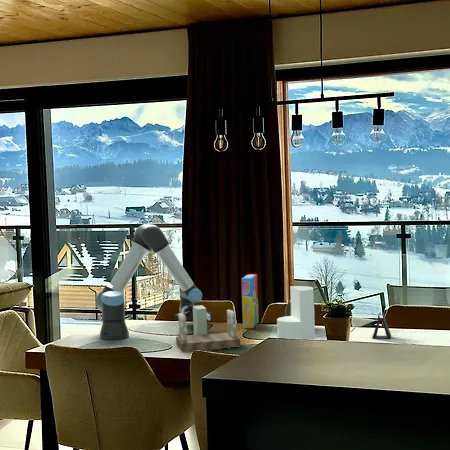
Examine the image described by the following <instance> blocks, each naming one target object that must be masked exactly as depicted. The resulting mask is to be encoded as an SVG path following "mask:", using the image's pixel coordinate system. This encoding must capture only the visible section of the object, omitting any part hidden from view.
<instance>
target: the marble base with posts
mask: <svg viewBox="0 0 450 450" xmlns="http://www.w3.org/2000/svg"><path fill="white" fill-rule="evenodd" d="M177 314H178V316H179V319H178V336H176V337H175V339H176V341H175V343H176V346H177V348H178V349H179V350H180V352H181V353H189V352H195V351H194V350H203V351H214V350H222V349H221V348H227V349H231V348H230V347H237V346H241V338H240V337H238V336H237V321H236V320H237V319H236V312H235V311H233V310H232V309H227V310H226V322H227V325H226V327H227V332H220V333H218V332H217V333H207V334H204V335H194V334H193V335H187V319H186V316H185V315H184V314H183V313H180V312H179V313H177Z"/></svg>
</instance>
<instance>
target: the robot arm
mask: <svg viewBox="0 0 450 450" xmlns="http://www.w3.org/2000/svg"><path fill="white" fill-rule="evenodd" d="M130 244H131V247H130V249H129V250H128V252H127V253H126V255H125V257H124V259H123V260H122V263H121V264H120V265H119V267H118V269H117V271H116V273H115V274H114V276H113V278H112V279H111V281H110V283H108V284H106V285H105V286H104V287H103V289H102V290H101V291H100V292H99V293H98V294H97V295H96V297H95V305H96V308H97V310H98V311H99V312H101V314H102V315H101V317H102V324H101V327H100V331H99V339H100V340H106V341H107V340H108V341H111V340H112V341H113V340H123V339H127V338H129V336H130V331H129V329H128V325H127V324H126V323H127V322H126V315H125V314H126V311H125V294H124V291H125V290H126V288H127V286H128V285H129V283H130V281H131V279H132V278H133V276H134V274H135V273H136V271H137V270H138V268H139V265H141V263H142V261H143V259H144V258H145V256H146V254H149V253H150V252H151V250H152V252H153V253H154V254H156V255H158V257H159V259H160V260H161V262H162V263H163V265H164V266H165V267H166V269H167V270H168V272H169V273H170V275H171V276H172V277H173V279H174V281H175V282H176V284H177V285H178V286H179V289H178V290H179V313H183V314H184V315H185V316H186V321H187V320H188V321H193V306H195V304H194V303H199V302H200V301H201V300H202V299H203V293H202V291H201V290H200V289H199V288H198V287H197V286H196V285H195V282H193V280H192V278H191V277H190V276H189V273H188V272H187V271H186V269H185V268H184V266H183V265H182V263H181V262H180V260H179V259H178V257H177V256H176V254H175V253H174V251H173V250H172V248H171V246H170V242H169V241H168V239H167V237H166V236H165V234H164V232H163V231H162V229H161V228H160V227H159V226H158V225H155V224H150V223H149V224H148V223H144V224H141V225H140V226H138V227H137V228H136V230H135V231H134V237H133V238H132V240H131V243H130ZM206 316H207V321H211V319H212V318H214V313H213V312H211V311H206ZM174 317H175V319H174V320H175V321H179V316H178V313H177V314H174Z"/></svg>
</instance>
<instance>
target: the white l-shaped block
mask: <svg viewBox="0 0 450 450" xmlns="http://www.w3.org/2000/svg"><path fill="white" fill-rule="evenodd" d="M289 288H290V289H289V290H290V300H291V316H286V315H284V316H282V317H278V318H277V319H276V325H277V327H276V329H277V339H278V338H301V339H315V340H316V328H315V327H316V325H315V317H314V309H315V296H314V294H315V293H314V287H312V286H309V285H307V286H306V285H304V286H303V285H293V286H292V285H290V286H289Z"/></svg>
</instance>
